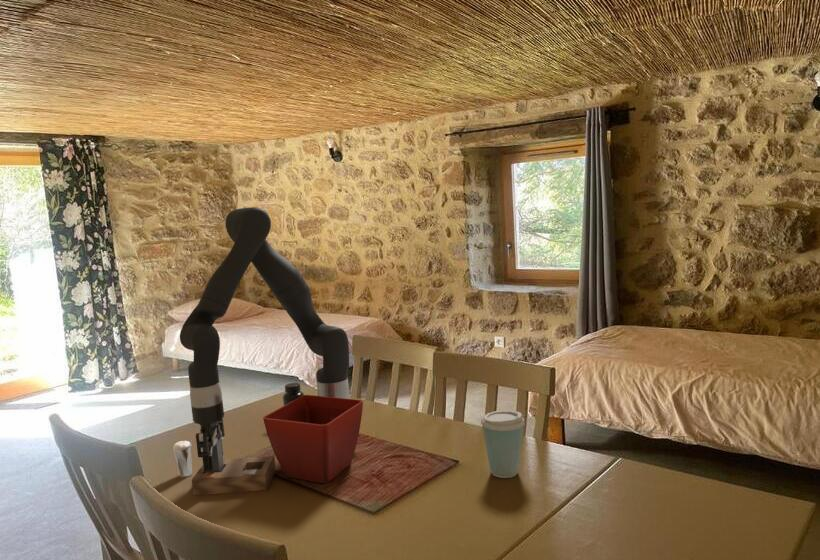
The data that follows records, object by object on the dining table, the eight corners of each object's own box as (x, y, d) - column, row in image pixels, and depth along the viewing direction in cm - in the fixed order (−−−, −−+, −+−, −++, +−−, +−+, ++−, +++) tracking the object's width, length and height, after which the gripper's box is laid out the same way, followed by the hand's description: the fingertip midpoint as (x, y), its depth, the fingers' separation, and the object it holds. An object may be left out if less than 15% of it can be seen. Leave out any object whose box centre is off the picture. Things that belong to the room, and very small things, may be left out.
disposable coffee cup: (474, 475, 150) (471, 416, 148) (499, 459, 157) (496, 403, 155) (511, 486, 142) (508, 425, 140) (535, 469, 150) (532, 411, 148)
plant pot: (369, 459, 163) (364, 399, 161) (331, 492, 146) (325, 425, 144) (310, 451, 171) (304, 394, 169) (267, 481, 154) (260, 418, 152)
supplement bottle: (286, 418, 200) (282, 382, 199) (307, 415, 201) (303, 380, 199) (284, 425, 193) (280, 389, 192) (305, 423, 194) (302, 386, 193)
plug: (225, 479, 157) (220, 436, 155) (221, 486, 153) (216, 441, 152) (211, 480, 157) (206, 437, 155) (207, 487, 153) (201, 442, 152)
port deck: (275, 470, 160) (274, 454, 160) (266, 489, 150) (264, 473, 149) (207, 475, 160) (205, 459, 160) (193, 495, 149) (191, 478, 149)
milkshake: (191, 479, 159) (187, 442, 157) (173, 478, 160) (168, 442, 159) (200, 471, 163) (196, 435, 162) (182, 470, 164) (178, 435, 163)
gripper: (213, 409, 145) (220, 474, 147) (229, 391, 159) (236, 450, 161) (181, 412, 145) (189, 477, 147) (201, 393, 159) (208, 452, 161)
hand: (214, 463), depth 154 cm, fingers open, 8 cm apart
